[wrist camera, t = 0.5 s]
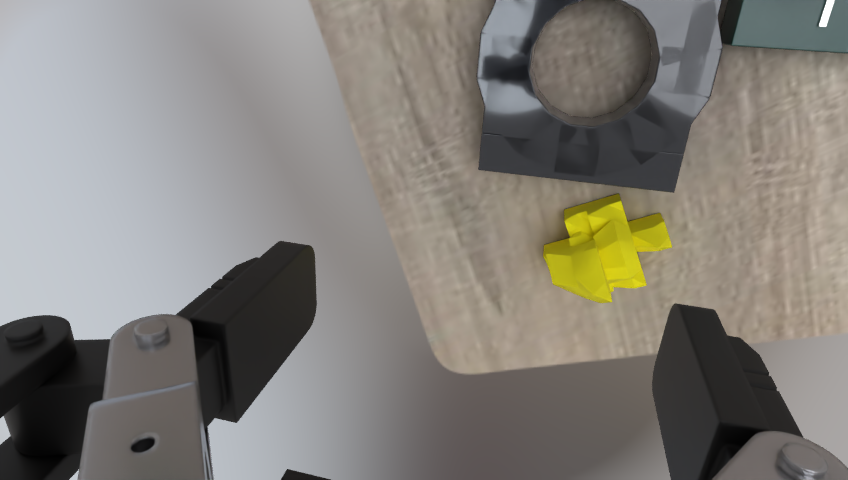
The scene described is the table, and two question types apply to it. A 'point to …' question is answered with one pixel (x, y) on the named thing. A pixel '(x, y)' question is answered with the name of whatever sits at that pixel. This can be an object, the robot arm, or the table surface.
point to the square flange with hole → (606, 134)
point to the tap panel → (787, 24)
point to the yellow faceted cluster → (603, 249)
